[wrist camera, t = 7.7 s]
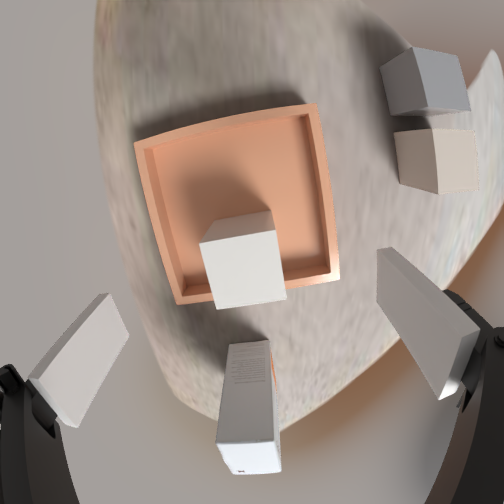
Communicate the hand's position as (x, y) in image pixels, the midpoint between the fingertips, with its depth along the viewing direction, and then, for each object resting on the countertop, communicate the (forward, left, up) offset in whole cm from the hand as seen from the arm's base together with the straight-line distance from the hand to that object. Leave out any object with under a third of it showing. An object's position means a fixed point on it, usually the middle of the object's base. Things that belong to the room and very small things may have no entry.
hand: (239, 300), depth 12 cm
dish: (-3, 0, -11) cm, 11 cm away
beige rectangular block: (-5, +16, -11) cm, 20 cm away
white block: (0, 0, -10) cm, 10 cm away
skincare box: (+13, -2, -11) cm, 17 cm away
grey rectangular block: (-11, +16, -11) cm, 22 cm away
